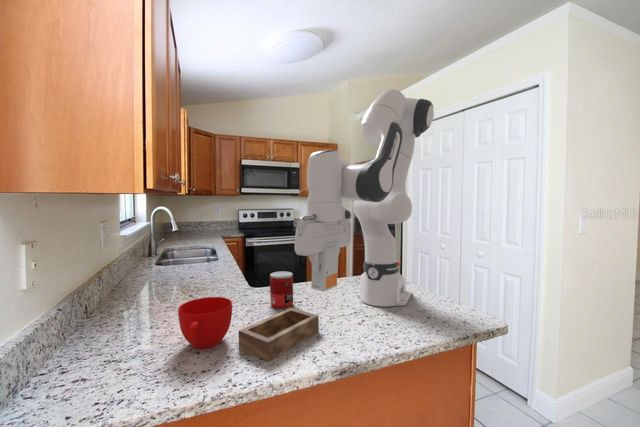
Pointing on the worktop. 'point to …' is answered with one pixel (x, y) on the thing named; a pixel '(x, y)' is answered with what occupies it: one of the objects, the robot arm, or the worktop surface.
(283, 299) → the canned food
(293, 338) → the brown hollow rectangular tray
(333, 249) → the skincare box
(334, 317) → the worktop surface
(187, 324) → the ceramic cup
